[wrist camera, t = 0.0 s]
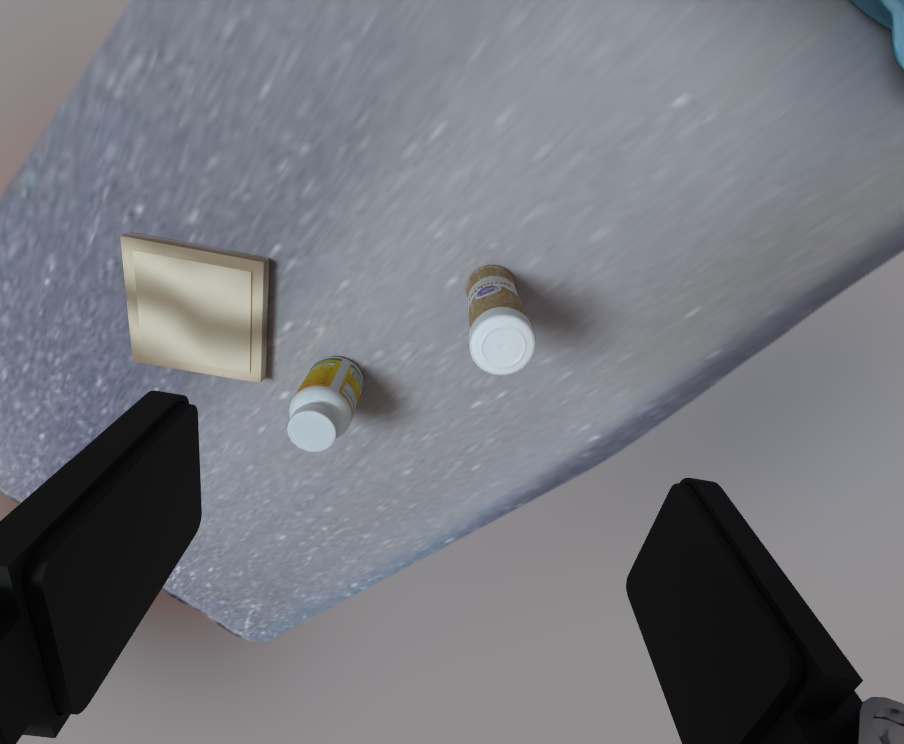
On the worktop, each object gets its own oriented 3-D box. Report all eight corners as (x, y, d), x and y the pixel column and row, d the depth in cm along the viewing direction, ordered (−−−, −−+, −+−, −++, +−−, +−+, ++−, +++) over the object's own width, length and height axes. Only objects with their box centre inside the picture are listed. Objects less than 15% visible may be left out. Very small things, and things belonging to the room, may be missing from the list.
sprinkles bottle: (496, 254, 44) (512, 302, 32) (525, 293, 46) (550, 353, 34) (455, 284, 46) (456, 341, 34) (484, 321, 47) (495, 389, 35)
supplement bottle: (373, 370, 50) (356, 423, 41) (349, 411, 52) (328, 469, 43) (323, 344, 48) (294, 393, 40) (300, 387, 51) (269, 442, 42)
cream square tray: (130, 232, 44) (119, 236, 42) (269, 258, 45) (263, 262, 43) (141, 355, 49) (132, 362, 48) (265, 376, 50) (260, 383, 48)
